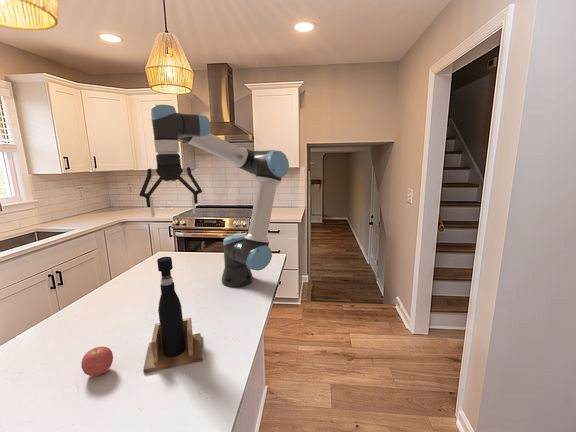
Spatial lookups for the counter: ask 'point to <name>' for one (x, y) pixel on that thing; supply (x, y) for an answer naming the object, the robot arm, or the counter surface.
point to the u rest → (190, 355)
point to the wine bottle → (170, 312)
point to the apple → (97, 361)
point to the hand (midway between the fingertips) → (174, 214)
